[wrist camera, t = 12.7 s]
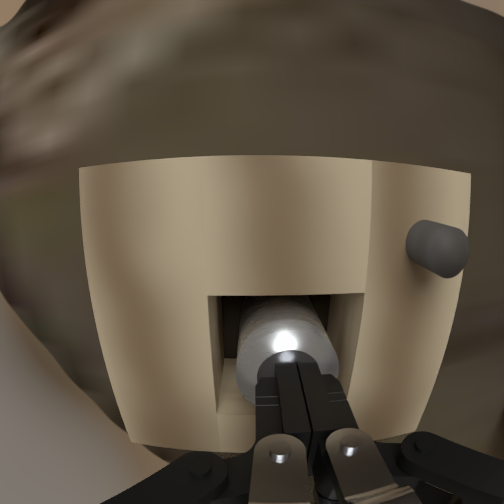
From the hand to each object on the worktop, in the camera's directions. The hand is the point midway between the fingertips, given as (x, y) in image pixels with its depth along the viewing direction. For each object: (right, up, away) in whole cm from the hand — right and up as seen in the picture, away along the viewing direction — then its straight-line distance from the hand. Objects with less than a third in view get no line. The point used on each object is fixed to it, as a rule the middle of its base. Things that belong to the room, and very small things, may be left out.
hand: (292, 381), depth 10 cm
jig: (0, +2, +6) cm, 6 cm away
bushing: (0, +1, +6) cm, 7 cm away
